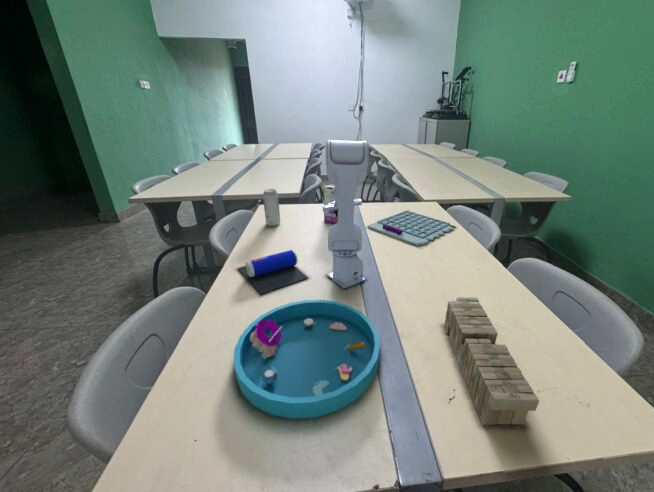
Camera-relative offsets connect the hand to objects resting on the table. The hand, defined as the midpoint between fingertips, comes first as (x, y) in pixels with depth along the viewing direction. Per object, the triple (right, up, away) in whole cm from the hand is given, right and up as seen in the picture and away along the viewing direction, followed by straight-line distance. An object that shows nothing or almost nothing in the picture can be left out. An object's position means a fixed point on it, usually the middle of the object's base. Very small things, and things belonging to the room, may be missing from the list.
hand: (343, 228), depth 108 cm
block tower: (+32, -31, -40) cm, 60 cm away
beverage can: (-15, -10, -4) cm, 19 cm away
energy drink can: (-33, +3, +29) cm, 44 cm away
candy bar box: (-5, +4, +33) cm, 34 cm away
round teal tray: (-4, -29, -39) cm, 49 cm away
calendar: (+28, +1, +31) cm, 42 cm away
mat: (-21, -15, -9) cm, 27 cm away
